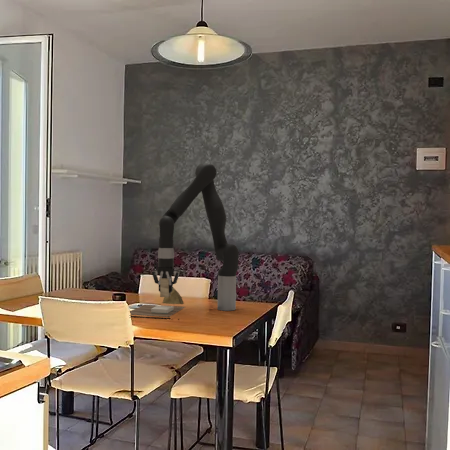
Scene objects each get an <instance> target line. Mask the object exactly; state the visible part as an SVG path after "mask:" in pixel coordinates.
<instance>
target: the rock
mask: <svg viewBox="0 0 450 450" xmlns="http://www.w3.org/2000/svg"><path fill="white" fill-rule="evenodd" d="M161 303H162V304H166V305H167V304H168V305H184V304H185V302H184V300H183V297H182V296H181V294H180V293H179V291H177V290H176V288H174V286H173V291H172V292H171V296H170V297H163V299H162V302H161Z"/></svg>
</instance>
